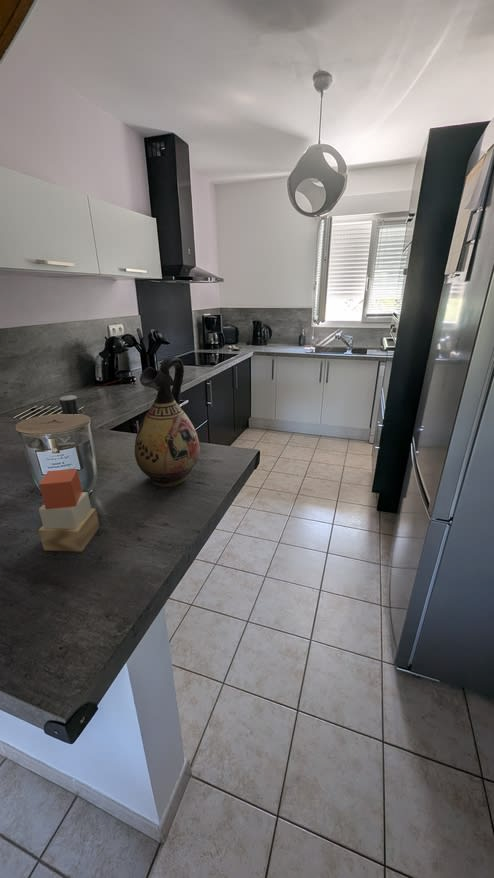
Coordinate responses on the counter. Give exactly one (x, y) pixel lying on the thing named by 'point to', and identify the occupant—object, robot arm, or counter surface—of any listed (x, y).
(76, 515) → the middle block
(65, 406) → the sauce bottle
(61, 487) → the toy cube
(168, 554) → the counter surface
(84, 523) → the base block
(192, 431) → the ceramic jug
